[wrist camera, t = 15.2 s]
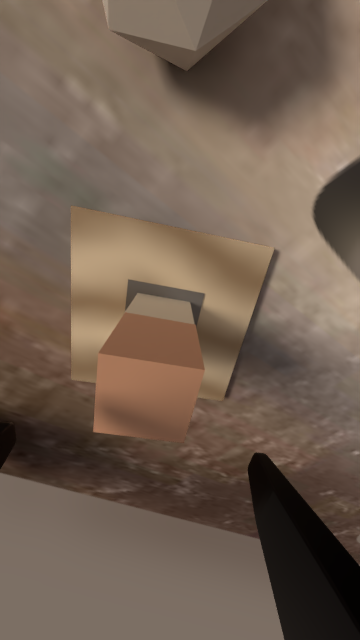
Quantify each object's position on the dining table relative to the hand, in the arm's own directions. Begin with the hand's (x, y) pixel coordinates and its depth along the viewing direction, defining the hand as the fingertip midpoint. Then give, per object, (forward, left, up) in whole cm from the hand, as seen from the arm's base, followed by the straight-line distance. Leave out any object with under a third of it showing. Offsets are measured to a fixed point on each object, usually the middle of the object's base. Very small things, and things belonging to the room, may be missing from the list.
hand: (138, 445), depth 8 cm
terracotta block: (0, 0, -7) cm, 7 cm away
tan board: (0, 0, -13) cm, 13 cm away
